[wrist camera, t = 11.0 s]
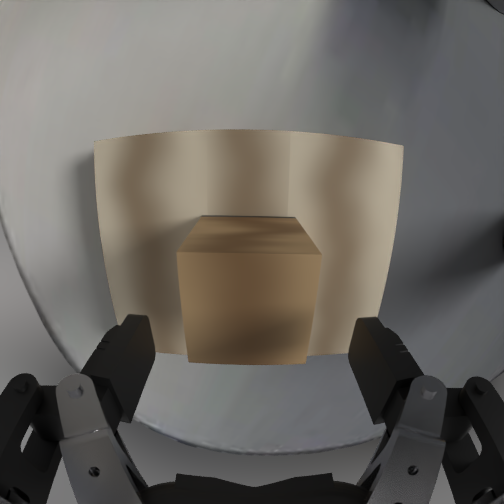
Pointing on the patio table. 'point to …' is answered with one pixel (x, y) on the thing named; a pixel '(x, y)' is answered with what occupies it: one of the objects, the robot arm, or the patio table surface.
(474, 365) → the patio table surface
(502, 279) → the patio table surface
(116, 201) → the birch board
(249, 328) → the oak peg
